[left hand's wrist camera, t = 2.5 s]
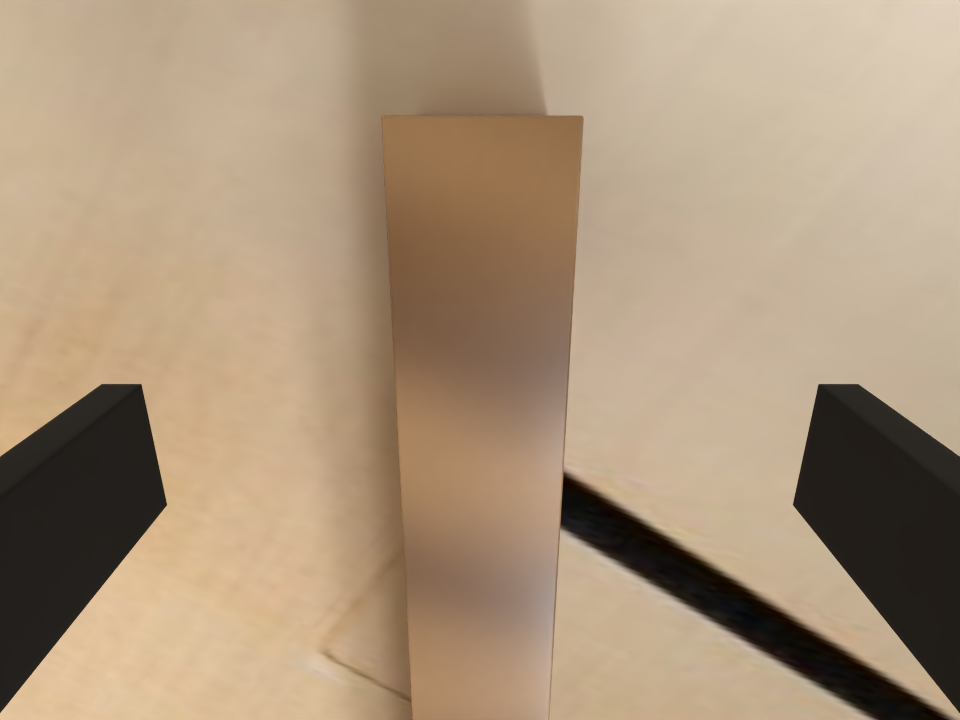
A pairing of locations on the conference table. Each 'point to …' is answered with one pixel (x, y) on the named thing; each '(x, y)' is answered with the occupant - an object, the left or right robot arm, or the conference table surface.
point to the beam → (481, 398)
